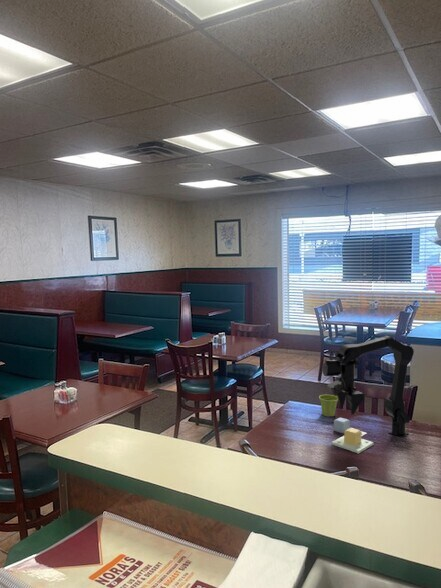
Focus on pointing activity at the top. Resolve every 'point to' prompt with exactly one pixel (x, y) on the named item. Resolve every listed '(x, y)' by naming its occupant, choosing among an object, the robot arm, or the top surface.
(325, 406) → the plant pot
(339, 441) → the base board
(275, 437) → the top surface
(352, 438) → the yellow cube
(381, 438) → the top surface
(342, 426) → the slate brick
